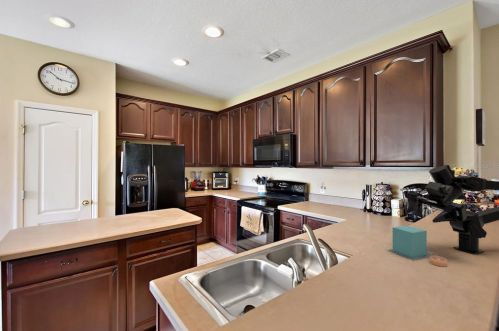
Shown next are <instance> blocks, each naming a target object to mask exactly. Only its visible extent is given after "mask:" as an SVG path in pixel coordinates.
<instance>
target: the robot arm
mask: <svg viewBox="0 0 499 331" xmlns="http://www.w3.org/2000/svg"><path fill="white" fill-rule="evenodd" d="M428 173H429V174H430V177H431V178H432V180H433V181H429V182H428V183H427V184H426V185H425V187H424V190H426V192H427V194H426V198H425V197H423V196H422V194H421V193H419V192H415V191H409V192H407V193H405V194H406V200H407V203H408V206H407V208H406V210H405V211H406V214H410V213H413V212H414V211H415V212H416V211H417V210H419V208H421V207H422V205H425V206H429V208H430V209H432V210H436V211H439V212H440V213H438V214H437V215H435V216H434V217H433V219H432V223H433V224H435V223H444V222H448V223H449V225H450V227H451V229H452V231H453V232H455V233H457V235H458V237H457V238H458V240H457V241H458V245H456V246H453V249H455V250H459V251H462V252H466V253H469V254H472V255H473V254H474V255H475V254H480V253H484V252H485V251H484V250H483V249H480V239H483V238H484V239H486V237H487V234H488V232H487V231H486V230H485V229H484V228H483V227H484V226H485V225H488V224H491V223H494V222H498V221H499V205H498V206H495V207H491V208H488V209H483V210H481V211H476V212H475V211H471V210H467V208H466V205H465V204H460V203H457V202H454V201H455V200H457V201H459V200H460V201H461V200H462V201H464V200H466V196H465V193H464V192H465V191H466V192H471V193H472V192H473V193H475V192H481V191H482V192H483V191H499V181H498V180H487V179H485V178H482V177H478V176H474V175H473V176H471V175H470V176H469V175H456V176H455V174H454V172H453V171H452V168H451V166H450V165H449V164H444V165H442V166H438V167H437V166H436V167H433V168H432V169H430V170H429V171H428Z"/></svg>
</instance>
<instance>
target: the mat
mask: <svg viewBox="0 0 499 331" xmlns="http://www.w3.org/2000/svg"><path fill="white" fill-rule="evenodd" d="M387 252H389V253H392V254H395V255H397V256H400V257H402V258H406V259H408V260H411V261H413V262H415V261H419V260H423V259H428V258H429V259H430V256H437V255H436V254H433V253H430V252H427V256H423V257H418V258H413V259H412V258H410V257H407V256H404V255H402V254H399V253H396V252H394V251H393V248H391V249H387Z"/></svg>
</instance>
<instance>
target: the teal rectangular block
mask: <svg viewBox="0 0 499 331" xmlns="http://www.w3.org/2000/svg"><path fill="white" fill-rule="evenodd" d="M427 236H428V230H425V229H421V228H417V227H413V226H409V225H402V226H401V225H400V226H392V249H393V251H394V252H396V253H399V254H402V255H404V256H407V257H410V258H412V259H413V258H418V257H423V256H427V253H428V252H427V251H428V249H427V248H428V247H427V246H428V240H427V238H428V237H427Z"/></svg>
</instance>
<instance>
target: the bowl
mask: <svg viewBox="0 0 499 331" xmlns="http://www.w3.org/2000/svg"><path fill="white" fill-rule="evenodd" d="M429 263H430V264H431V265H433V266H437V267H440V268H447V267H448V259H447V258H446V257H443V256H440V255H436V256H430V257H429Z"/></svg>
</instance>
